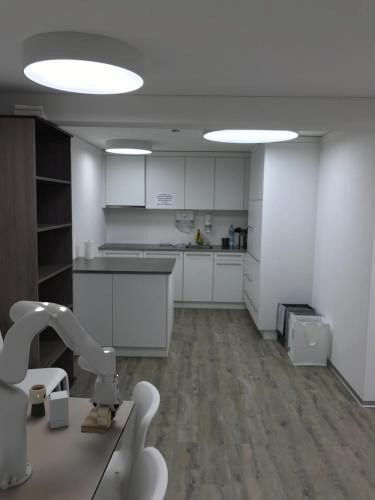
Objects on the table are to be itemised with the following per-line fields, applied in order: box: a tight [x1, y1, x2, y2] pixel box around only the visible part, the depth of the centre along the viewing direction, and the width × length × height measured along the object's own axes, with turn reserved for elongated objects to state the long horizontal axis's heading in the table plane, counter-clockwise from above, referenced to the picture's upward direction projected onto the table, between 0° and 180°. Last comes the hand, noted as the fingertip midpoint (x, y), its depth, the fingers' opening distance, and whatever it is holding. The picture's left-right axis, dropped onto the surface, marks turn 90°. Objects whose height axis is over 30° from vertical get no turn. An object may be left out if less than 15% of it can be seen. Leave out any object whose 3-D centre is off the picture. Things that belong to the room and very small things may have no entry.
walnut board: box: [80, 400, 119, 434], centre depth 174 cm, size 24×10×3 cm, turn 175°
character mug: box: [28, 383, 47, 418], centre depth 174 cm, size 11×7×13 cm, turn 23°
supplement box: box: [49, 390, 69, 429], centre depth 168 cm, size 7×7×13 cm
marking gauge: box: [97, 404, 115, 429], centre depth 168 cm, size 9×5×7 cm, turn 175°
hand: (106, 417), depth 168 cm, fingers closed on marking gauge, 5 cm apart
